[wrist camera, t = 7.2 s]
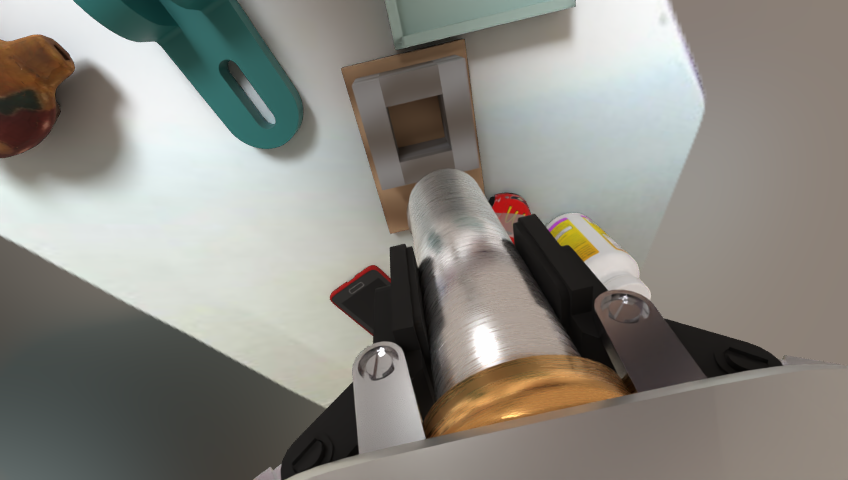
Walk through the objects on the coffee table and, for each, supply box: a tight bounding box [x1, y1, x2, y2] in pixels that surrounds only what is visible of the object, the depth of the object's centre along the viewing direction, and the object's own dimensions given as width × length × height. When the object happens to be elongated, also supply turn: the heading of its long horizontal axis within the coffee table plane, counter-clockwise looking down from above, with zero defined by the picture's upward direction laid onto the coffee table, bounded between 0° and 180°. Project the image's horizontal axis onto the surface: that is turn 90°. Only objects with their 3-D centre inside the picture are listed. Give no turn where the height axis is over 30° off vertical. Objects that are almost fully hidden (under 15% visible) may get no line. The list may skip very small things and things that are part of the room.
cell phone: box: [330, 265, 391, 336], centre depth 48 cm, size 8×15×1 cm, turn 37°
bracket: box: [73, 0, 303, 149], centre depth 28 cm, size 18×7×8 cm, turn 27°
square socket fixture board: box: [341, 39, 485, 234], centre depth 33 cm, size 17×11×8 cm, turn 12°
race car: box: [488, 193, 531, 244], centre depth 42 cm, size 13×5×4 cm, turn 149°
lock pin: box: [409, 169, 631, 439], centre depth 12 cm, size 4×4×12 cm
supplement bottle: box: [546, 213, 651, 300], centre depth 39 cm, size 7×7×13 cm
